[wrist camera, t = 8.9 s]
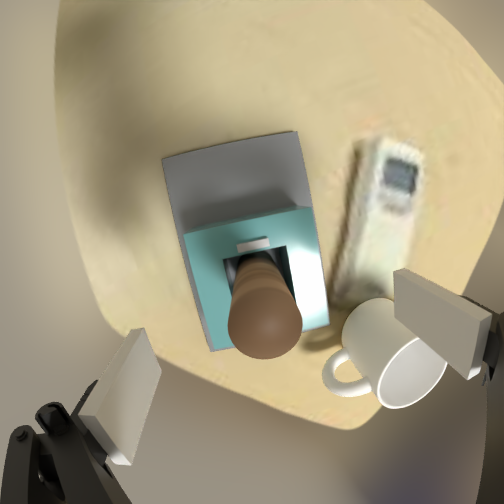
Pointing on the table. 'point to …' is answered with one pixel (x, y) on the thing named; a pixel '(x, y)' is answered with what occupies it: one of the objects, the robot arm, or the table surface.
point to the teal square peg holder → (253, 240)
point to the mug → (384, 357)
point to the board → (236, 191)
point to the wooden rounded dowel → (262, 309)
